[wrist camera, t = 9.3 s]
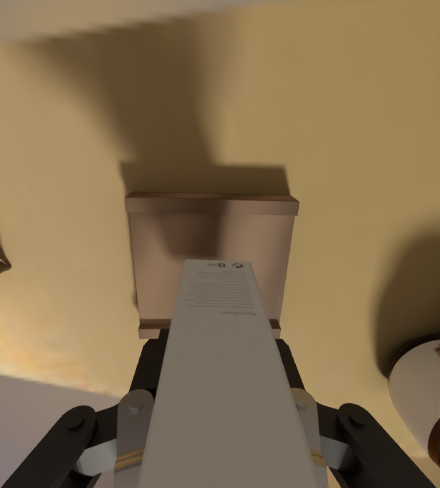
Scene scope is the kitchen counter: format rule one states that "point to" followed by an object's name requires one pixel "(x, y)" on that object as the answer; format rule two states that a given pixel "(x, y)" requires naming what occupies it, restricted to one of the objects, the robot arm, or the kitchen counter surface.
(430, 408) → the spread jar
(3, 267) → the eagle figurine
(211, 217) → the board
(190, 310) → the skincare box
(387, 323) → the kitchen counter surface
